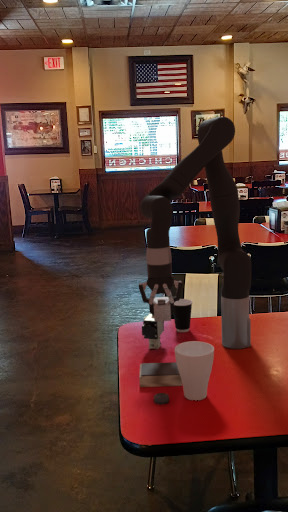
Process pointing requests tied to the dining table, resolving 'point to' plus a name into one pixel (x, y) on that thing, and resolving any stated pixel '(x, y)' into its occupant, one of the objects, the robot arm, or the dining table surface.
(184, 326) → the dixie cup
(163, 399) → the black cap
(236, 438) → the dining table surface
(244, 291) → the robot arm
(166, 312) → the block
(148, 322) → the pneumatic valve
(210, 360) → the cup
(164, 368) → the stand
